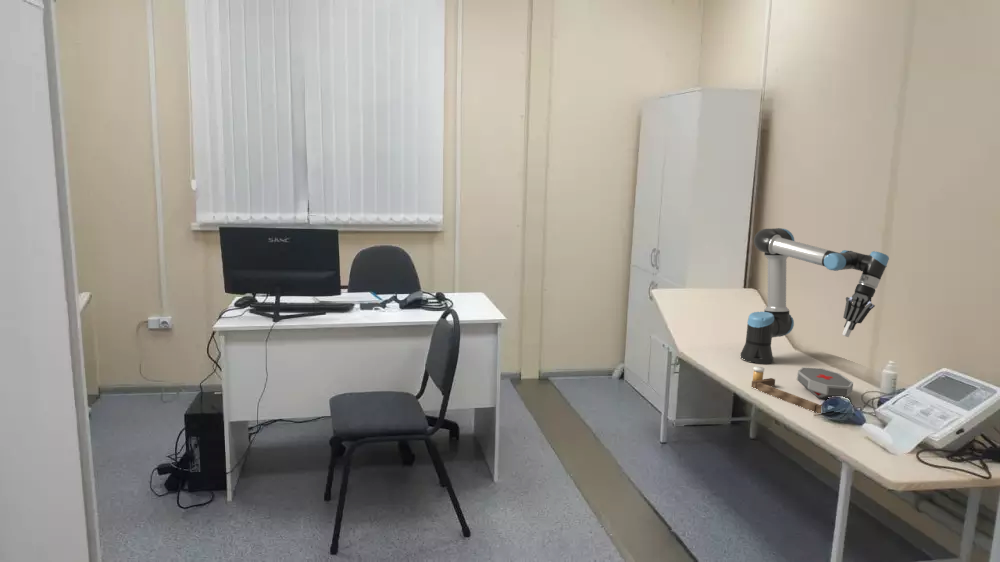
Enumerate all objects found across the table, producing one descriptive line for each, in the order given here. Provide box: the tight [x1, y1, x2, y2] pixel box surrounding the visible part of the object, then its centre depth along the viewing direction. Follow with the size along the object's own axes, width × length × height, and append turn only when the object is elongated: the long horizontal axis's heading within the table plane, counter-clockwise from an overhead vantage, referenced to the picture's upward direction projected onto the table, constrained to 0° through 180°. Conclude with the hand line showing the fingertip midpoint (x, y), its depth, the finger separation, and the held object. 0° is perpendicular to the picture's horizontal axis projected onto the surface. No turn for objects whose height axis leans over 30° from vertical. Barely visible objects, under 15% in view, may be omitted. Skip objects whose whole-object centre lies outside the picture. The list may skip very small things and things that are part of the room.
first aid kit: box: [796, 366, 854, 399], centre depth 274 cm, size 18×8×25 cm
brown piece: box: [750, 377, 823, 414], centre depth 266 cm, size 33×12×3 cm, turn 28°
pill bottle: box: [752, 366, 765, 381], centre depth 283 cm, size 4×4×7 cm
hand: (845, 335), depth 287 cm, fingers closed
